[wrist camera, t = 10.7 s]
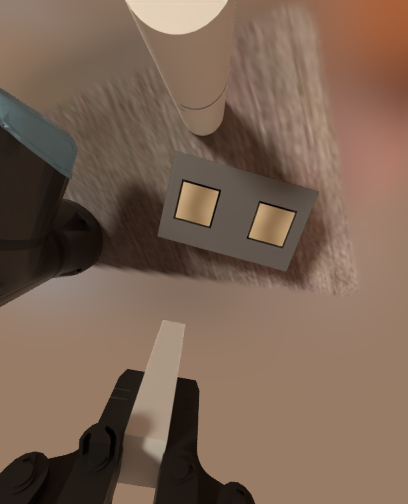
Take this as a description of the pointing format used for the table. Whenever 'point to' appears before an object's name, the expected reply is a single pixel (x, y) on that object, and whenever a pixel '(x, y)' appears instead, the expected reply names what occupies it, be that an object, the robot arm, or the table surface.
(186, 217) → the peg
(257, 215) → the peg
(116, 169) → the table surface
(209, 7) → the cylindrical container
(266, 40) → the table surface
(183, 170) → the plinth
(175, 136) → the table surface
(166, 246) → the table surface
